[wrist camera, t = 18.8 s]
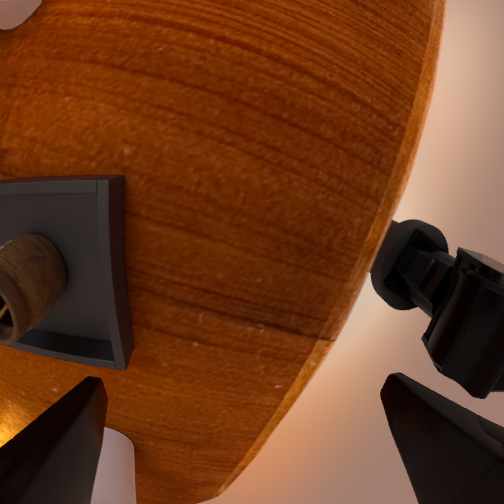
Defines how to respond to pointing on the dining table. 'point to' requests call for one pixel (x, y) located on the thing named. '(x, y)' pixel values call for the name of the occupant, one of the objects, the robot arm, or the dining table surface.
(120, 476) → the foam cup
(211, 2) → the dining table surface
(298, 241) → the dining table surface
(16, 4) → the shot glass
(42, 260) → the utensil holder
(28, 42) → the dining table surface
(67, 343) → the baking tray
